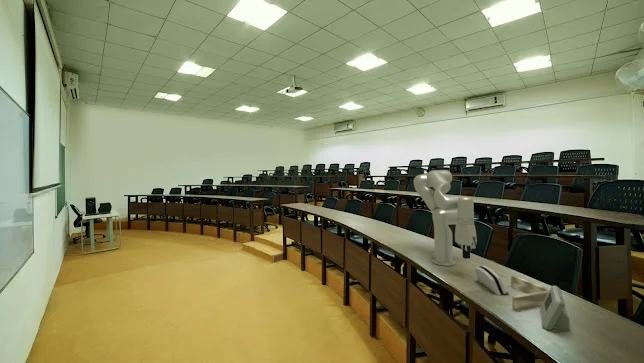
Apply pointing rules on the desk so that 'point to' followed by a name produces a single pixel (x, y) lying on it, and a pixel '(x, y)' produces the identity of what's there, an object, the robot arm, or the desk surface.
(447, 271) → the desk surface
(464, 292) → the desk surface
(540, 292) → the wooden corner wall
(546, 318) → the digital clock
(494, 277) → the white pencil case
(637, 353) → the desk surface
